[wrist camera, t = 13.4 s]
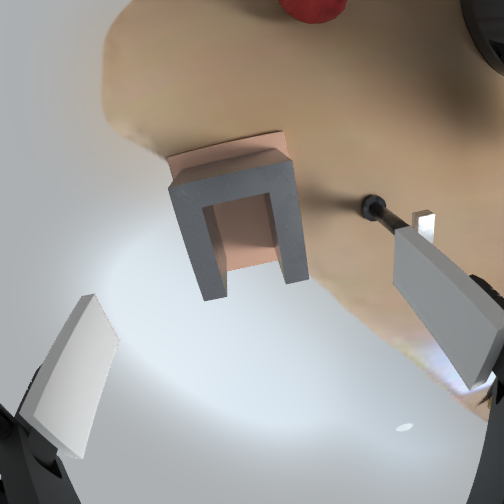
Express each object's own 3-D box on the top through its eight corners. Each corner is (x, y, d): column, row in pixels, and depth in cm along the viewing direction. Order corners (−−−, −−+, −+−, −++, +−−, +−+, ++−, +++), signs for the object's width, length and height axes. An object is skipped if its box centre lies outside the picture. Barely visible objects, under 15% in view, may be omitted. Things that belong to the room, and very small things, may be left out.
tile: (168, 157, 27) (167, 158, 26) (282, 130, 27) (283, 131, 26) (203, 273, 33) (202, 276, 32) (302, 252, 33) (303, 254, 32)
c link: (181, 169, 27) (167, 188, 21) (276, 148, 27) (292, 160, 21) (208, 261, 31) (204, 301, 25) (292, 243, 31) (308, 279, 25)
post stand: (359, 182, 29) (412, 218, 20) (382, 178, 29) (440, 212, 20) (362, 234, 32) (408, 285, 23) (384, 229, 32) (434, 276, 23)
